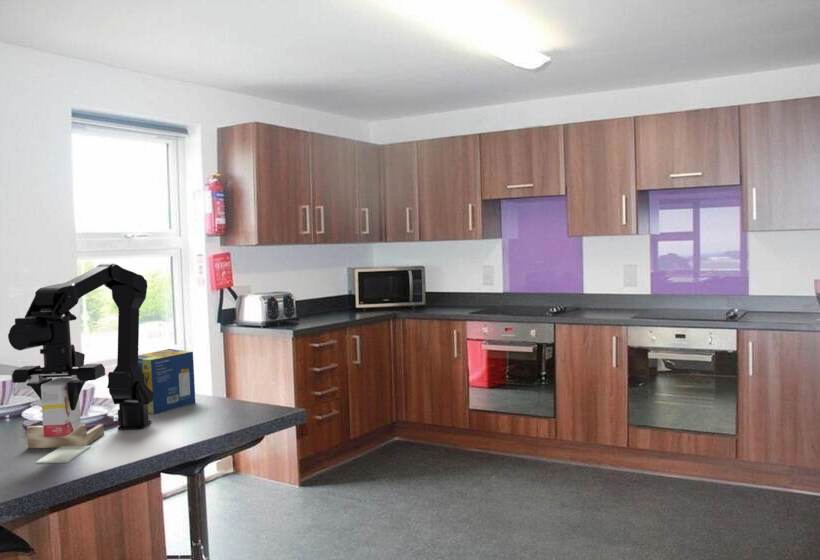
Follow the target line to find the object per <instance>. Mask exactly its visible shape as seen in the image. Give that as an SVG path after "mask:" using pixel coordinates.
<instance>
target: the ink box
mask: <svg viewBox="0 0 820 560" xmlns="http://www.w3.org/2000/svg"><path fill="white" fill-rule="evenodd" d="M70 381H72V377H55V378H54V379H52V380H51V381H49V382H46V383H44V384H42V385H41V398H42V401H41V411H42V413H41V414H42V426H43V431H44V437H63V436H64V437H65V436H67V435H68V434H70V433H71V432H73V431H74V430H76V429H78V428H79V427H81V425H82V421H81V420H82V419H81V404H80V397H79V398H78V402H77V405H76V408H75V410H73V411H72V410H71V407H70V402H69V394H68V386H67V383H68V382H70Z"/></svg>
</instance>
